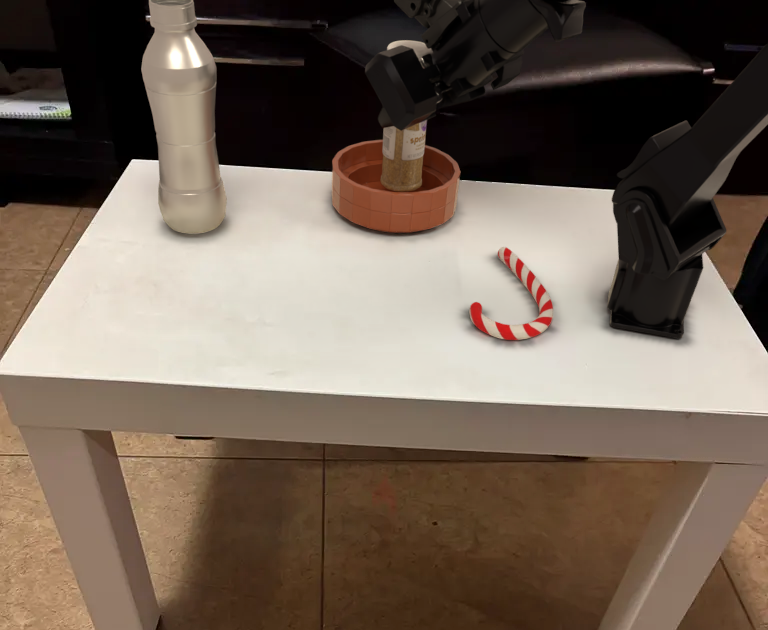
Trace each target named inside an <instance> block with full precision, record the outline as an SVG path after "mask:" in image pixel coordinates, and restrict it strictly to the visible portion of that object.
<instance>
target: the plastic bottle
mask: <svg viewBox="0 0 768 630" xmlns="http://www.w3.org/2000/svg"><path fill="white" fill-rule="evenodd" d="M148 6H149V14H150V17H149V23H150V26H151V28H154V33H153V35H152V36H151V38H150V40H149V42H148V44H147V45H146V48H145V50H144V53H143V55H142V60H141V61H142V62H141V68H140V69H141V74H142V80H143V83H144V87H145V91H146V95H147V99H148V102H149V106H150V110H151V114H152V119H153V125H154V131H155V133H156V135H155V137H156V142H157V153H158V174H159V175H158V177H159V180H158V186H157V187H158V188H157V204H158V207H159V211H160V213H161V218H162V220H163V221H164V222H165V224H166V225H167V226H168V227H169V228H170V229H172V230H173V231H175V232H178V233H183V234H190V235H191V234H194V235H195V234H203V233H207V232H210V231H213V230H216V229H217V228H218V227H219V226H220V225H221V224H222V223H223V221H224V219H225V218H226V213H227V203H228V201H227V200H228V199H227V194H226V188H225V184H224V181H223V179H222V176H221V170H220V169H221V168H220V162H219V156H218V151H217V150H218V149H217V143H216V141H217V140H216V132H215V131H216V114H215V113H216V111H215V110H216V97H217V96H216V94H217V80H218V79H217V76H218V75H217V74H218V73H217V71H218V70H217V64H216V62H215V59H214V56H213V54H212V53H211V50H210V49H209V48H208V47H207V45H206V43H205V42H204V41H203V39H202V38H201V37H200V36H199V35H198V33H197V32H196V30H195V28H196V27H197V25H198V20H197V19H198V18H197V16H196V12H195V11H196V9H195V2H194V0H148Z"/></svg>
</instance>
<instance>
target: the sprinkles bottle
mask: <svg viewBox="0 0 768 630" xmlns="http://www.w3.org/2000/svg"><path fill="white" fill-rule="evenodd" d="M400 45H403V46H406V47H409V48H412V49H413V50H414V51H415V53H416V55H417V57H418V59H419V61H420V58H421V57H422V56H424V55H427V54H429V53H432V52H433V51H432V49H431V48H430V49H428V48H427V47H426V45H425V43H424V41H423V42H422V41H418V40H408V39H406V40H405V39H404V40H403V39H402V40H396V41H392V42H390V43H389V44H388V45H387V47H386V50H389V49H392V48H395V47H398V46H400ZM420 63H421V62H420ZM421 65H422V63H421ZM422 67H423V65H422ZM423 68H424V67H423ZM427 124H428V120H426V121H423V122H421V123H418V124H416V125H413V126H411V127H409V128H407V129H404V130H402V131H401V130H399V129H397V128H396V127H394V126H392V127H386V128H383V130H382V131H383V133H382V140H383V150H382V152H383V165H382V175H381V179H380V181H381V184H382V185H383V186H384V187H386V188H387V189H389V190H393V191H397V192H409V191H414V190H416V189H418V188H420V186H421V185H422V178H421V176H422V165H423V155H424V148H425V145H426V135H427V126H428V125H427Z"/></svg>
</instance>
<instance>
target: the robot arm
mask: <svg viewBox="0 0 768 630" xmlns="http://www.w3.org/2000/svg"><path fill="white" fill-rule="evenodd" d="M393 2H394V4H395V5H397V7H398V8H399V9H400V10H401V11H402V12H403V13H404V14H405V15H406V16H407V17H408V18H410V19H412V18H415V19H416V20H417V22H419V24H420V25H421V26H423V27H424V28H425V29H427V30H426V31H424V32H423V34H421V35H420V37H421V39H422V41H423V43H425V45H426V47H427V48H428V49H430V48H431V49H432V51H433V52H432V53H429V54H427V55H424V56H422V57H421V58H420V61H419V59H418V57H417V55H416V53H415V51H414V50H413V49H412V48H409V47H406V46H403V45H400V46H398V47H395V48H392V49H389V50H387V49H386V50H383V51H381V52H377V54H376V55H374V57H372V58H371V60H370V61H368V63H367V64H366V65H365V69H364V74H365V75H366V78H367V79H368V81H369V83H370V85H371V87H372V89H373V91H374V93H375V95H376V96H377V98H378V99H379V101H380V104H381V105H382V108H381V109H380V112H379V114H378V116H377V121H378V123H379V125H380V127H381V128H382V129H384V128H386V127H392V126H394V127H396V128H397V129H399V130H401V131H402V130H404V129H407V128H409V127H411V126H413V125H416V124H418V123H421V122H423V121H426V120H427V121H428V120H430V119H432V118H434V117H436V116H437V113H436V111H437V110H441V109H444V108H448V107H452V106H457V105H459V104H463V103H467V102H471V101H473V100H475V99H478V98H480V97H482V96H484V95H485V94H486V87H485V86H486V85H488V84H489V83H490V82H491V83H490V86H491V89H492V90H493V91H495V90H497V89H499V88H501V87H504V86H506V85H508V84H509V83H510V82H512V81H513V80H515V78H517V77H518V76H520V75H521V72H522V71H521V70H522V64H523V57H522V56H523V55H524V54H525V51H524V49H525V48H526V47H528V46H529V45H530V44H531V43H532V42H533V41H535V40H536V39H537V38H539V36H541V35H542V34H543V33H544V32H546V31H547V30H548V29H549V32H550V34H551V36H552V38H553V40H554V41H555V42H557V43H558V42H562V41H565V40H566V41H567V40H569V39H572V38H576V37H579V36H581V35H582V32H583V24H584V12H585V9H586V8H587V2H585V1H584V0H393ZM420 62H421V63H422V65H423V67H424V68H423V67H422V65H421V63H420ZM495 73H496V75H497V77H496V78H495V79H494V78H493V75H494V74H495ZM767 126H768V42H767V43H766V44H765V45H764V46H763V48H761V50H760V51H759V52H758V53H757V54H756V55H755V56H754V58H753V59H751V61H750V62H749V63H748V64H747V66H746V67H745V68H744V69H742V71H741V72H740V73H739V74H738V75H737V77H735V78H734V80H733V81H732V82H731V83H730V84H729V85H728V86H727V88H726V89H725V90H724V91H722V93H721V94H720V95H719V96H718V98H717V99H716V100H715V101H714V102H713V103H712V104H711V105H710V106H709V108H708V109H707V110H706V111H705V112H704V113H703V114H702V115H701V116H700V118H698V120H697V121H696V122H695V123H694V124H693V125H692V126H691V125H690V123H689V121H688V120H684V121H682V122H679V123H677V124H675V125H673V126H671V127H669V128H667V129H665V130H662V131H661V132H658V133H656V134H654V135H653V136H650V137H649V138H648V139H647V140H646V142H645V143H644V144H643V145H642V147H641V148H640V149H639V151H638V153H637V155H636V156H635V158H634V160H633V161H632V162H631V163H630V164H629V165H628V166H627V167H626V168H625V169H621V170H620V171H618V172H617V173H616V177H617V178H619V179H622V180H621V181H619V183H618V184H617V185H616V187H615V189H614V190H613V193H612V196H611V203H612V213H613V217H614V220H615V223H616V226H617V227H616V229H617V230H616V231H617V253H618V255H617V256H618V259H617V263H616V266H615V269H614V274H613V277H612V279H611V283H610V287H609V291H608V293H607V305H606V308H607V310H608V311H610V317H609V318H610V319H609V325H610V326H611V327H613V328H616V329H622V330H628V331H633V332H638V333H639V332H640V333H646V334H650V335H656V336H661V337H668V338H672V339H682V338H683V337H684V334H685V324H684V323H685V322H684V321H685V319H686V316H687V313H688V310H689V308H690V305H691V302H692V299H693V297H694V294H695V292H696V288H697V287H698V284H699V280H700V278H701V274H702V273H703V269H704V262H703V261H704V260H703V254H705V253H706V252H707V251H711V250H712V249H713V248H715V247H716V245H718V243H719V242H720V241H721V240H722V238H723V237H724V236H725V235H726V234H727V227H726V225H725V223H724V221H723V218H722V215H721V213H720V210H719V209H718V206H717V203H716V201H715V199H714V197H715V195H716V194H717V192H718V191H719V190H720V188H722V186H723V185H724V183H725V181H726V180H727V178H728V176H729V173H730V172H731V169H732V168H733V166H734V163H735V162H736V159H737V158H738V157H739V155H740V154H741V152H742V151H743V150H744V149H746V147H747V146H748V145H749V144H750V143H751V142H752V141H753V140H754V139H755V138H756V137H757V136H758V135H759V134H761V132H762V131H763V130H764V129H765V128H766V127H767Z"/></svg>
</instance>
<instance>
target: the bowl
mask: <svg viewBox="0 0 768 630" xmlns="http://www.w3.org/2000/svg"><path fill="white" fill-rule="evenodd" d="M382 150H383V139H375V140H367V141H361V142H357V143H354V144H351V145H348V146H345V147H344V148H342V149H341V150H339V151H337V153H335V155H334V157H333V158H332V160H331V204H332V206H333V208H334V209H335V210H336V211H337V213H338V214H339V215H340V216H342V217H343V218H345V219H347V220H348V221H350V222H351V223H353V224H355V225H359V226H360V227H364V228H366V229H369V230H373V231H377V232H384V233H392V234H408V233H409V234H410V233H418V232H422V231H427V230H430V229H433V228H436V227H438V226H441V225H444V224H445V223H446V222H447V221H449V220H450V219H451V218H453V216H454V214H455V211H456V208H457V203H458V196H459V195H458V194H459V187H460V179H461V178H460V177H461V173H462V172H461V170H460V169H461V168H460V166H459V163H458V161H456V160H455V159H454V158H453V157H452V156H451V155H449V154H448V153H446V152H445V151H441V150H440V149H438V148H436V147H433V146H430V145H427V144H425V148H424V155H423V165H422V176H421V178H422V185H421V186H420V188H418V189H416V190H414V191H409V192H397V191H393V190H389V189H387V188H386V187H384V186H383V185H382V184H381V181H380V179H381V175H382V165H383V152H382Z"/></svg>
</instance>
